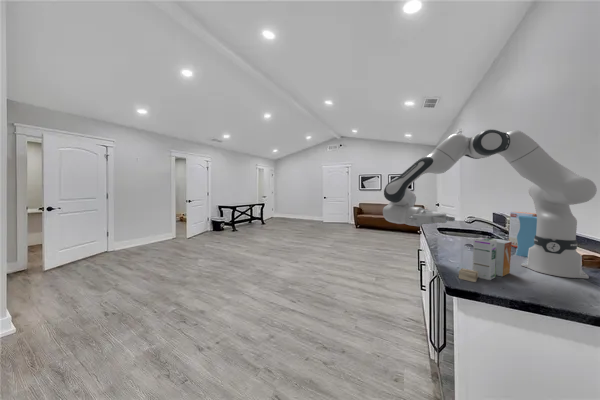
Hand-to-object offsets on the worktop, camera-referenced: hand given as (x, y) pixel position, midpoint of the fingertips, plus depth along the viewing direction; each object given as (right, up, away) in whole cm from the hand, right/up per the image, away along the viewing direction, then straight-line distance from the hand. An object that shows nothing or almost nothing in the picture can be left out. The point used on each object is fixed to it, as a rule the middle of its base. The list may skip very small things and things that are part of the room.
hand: (450, 220), depth 98 cm
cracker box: (+67, -20, +39) cm, 80 cm away
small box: (+16, -21, -4) cm, 27 cm away
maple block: (0, -21, -11) cm, 24 cm away
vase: (+55, -20, +24) cm, 63 cm away
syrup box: (+7, -21, -8) cm, 24 cm away
